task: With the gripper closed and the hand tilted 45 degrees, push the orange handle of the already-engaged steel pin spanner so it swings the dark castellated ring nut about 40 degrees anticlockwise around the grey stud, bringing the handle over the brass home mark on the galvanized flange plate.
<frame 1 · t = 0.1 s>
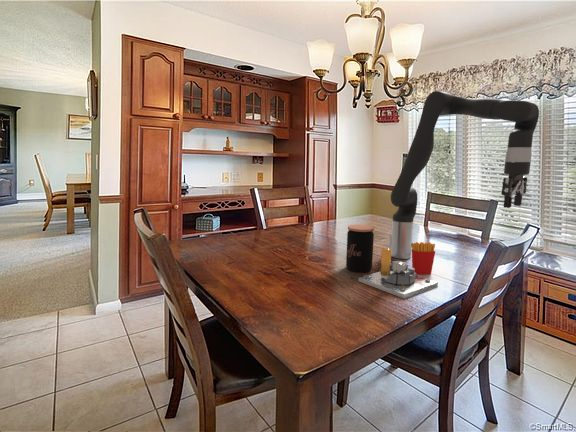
hand: (512, 206, 123), 29 cm above the table, tool pointing down, fingers open, 8 cm apart
flange plate: (397, 283, 128), on the table
french fries: (420, 273, 140), on the table
coffee jar: (358, 269, 144), on the table
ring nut: (395, 263, 124), point 8 cm above the table, hinge at 0.0°
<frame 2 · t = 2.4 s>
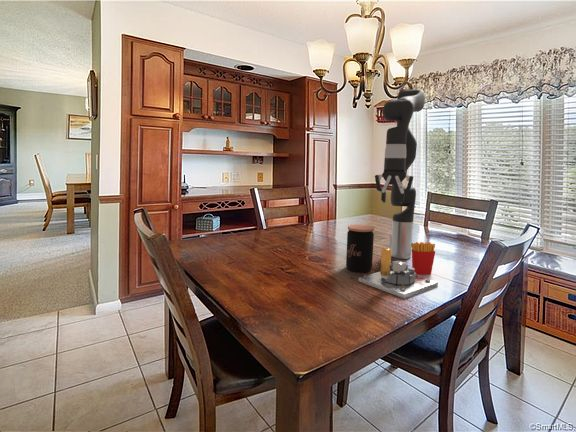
hand: (392, 202, 129), 29 cm above the table, tool pointing down, fingers open, 5 cm apart
nothing on the table moved.
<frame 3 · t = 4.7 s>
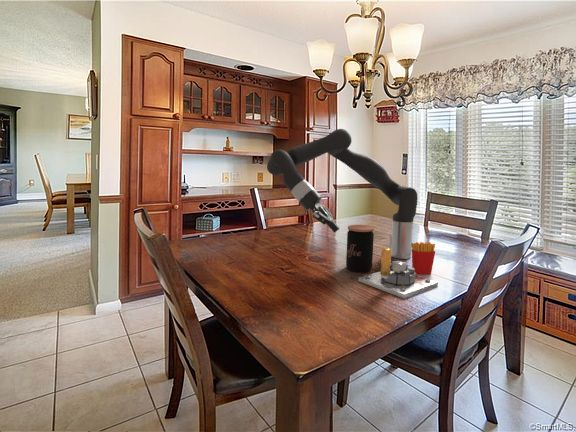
hand: (337, 230, 124), 20 cm above the table, tool tilted 45°, fingers closed
nothing on the table moved.
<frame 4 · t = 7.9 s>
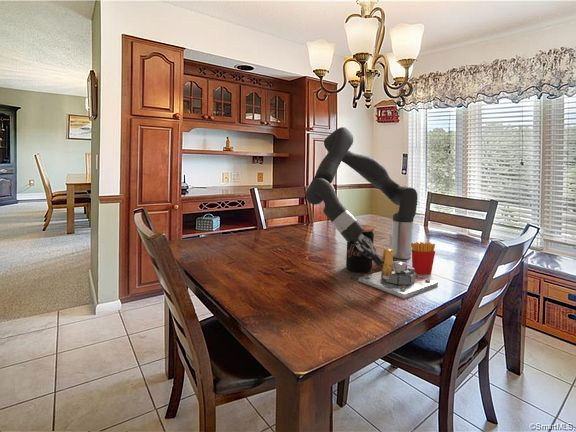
hand: (380, 264, 119), 10 cm above the table, tool tilted 45°, fingers closed
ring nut: (395, 263, 124), point 8 cm above the table, hinge at 3.8°, touching gripper
everything else where it was.
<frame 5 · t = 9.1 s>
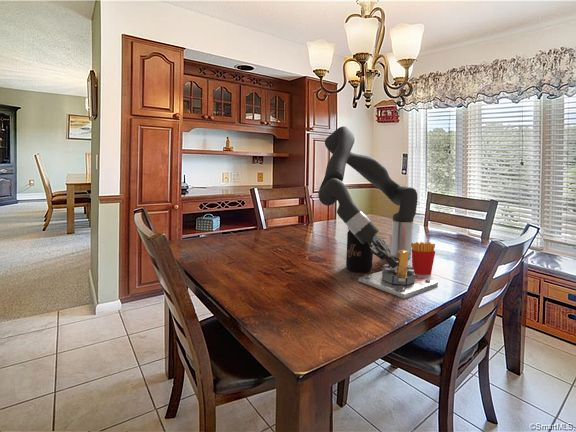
hand: (395, 266, 117), 10 cm above the table, tool tilted 45°, fingers closed
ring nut: (399, 264, 123), point 8 cm above the table, hinge at 32.3°, touching gripper
everything else where it was.
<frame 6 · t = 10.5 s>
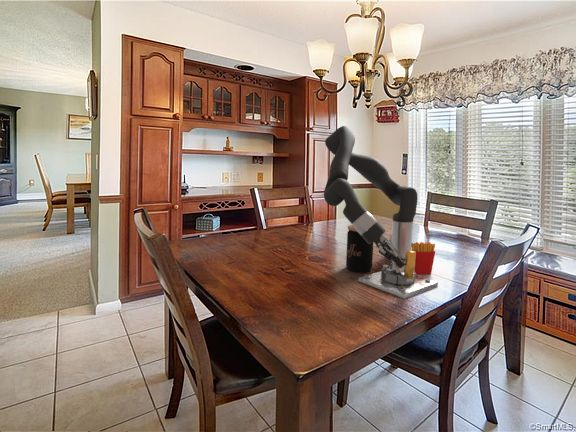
hand: (402, 266, 117), 10 cm above the table, tool tilted 45°, fingers closed
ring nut: (401, 264, 123), point 8 cm above the table, hinge at 46.0°, touching gripper
everything else where it was.
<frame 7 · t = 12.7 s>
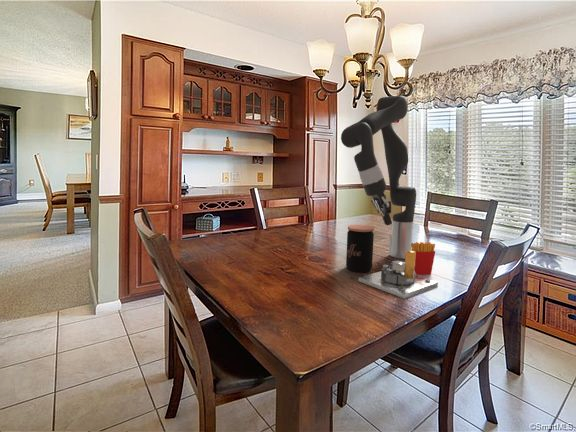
hand: (388, 224, 124), 22 cm above the table, tool tilted 25°, fingers closed
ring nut: (401, 264, 123), point 8 cm above the table, hinge at 46.0°
everything else where it was.
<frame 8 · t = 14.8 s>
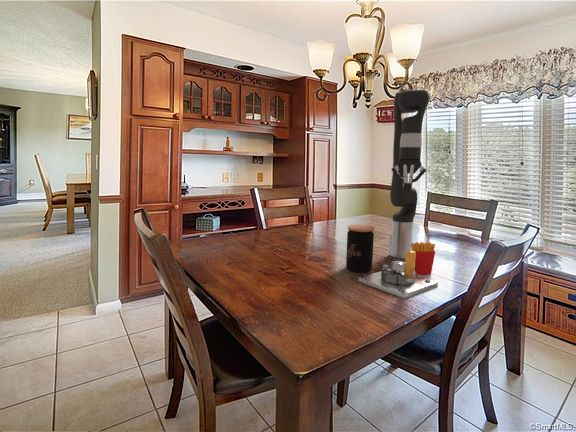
hand: (407, 193, 130), 33 cm above the table, tool pointing down, fingers closed
nothing on the table moved.
at the end: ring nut at +46° (first picture: +0°) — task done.
